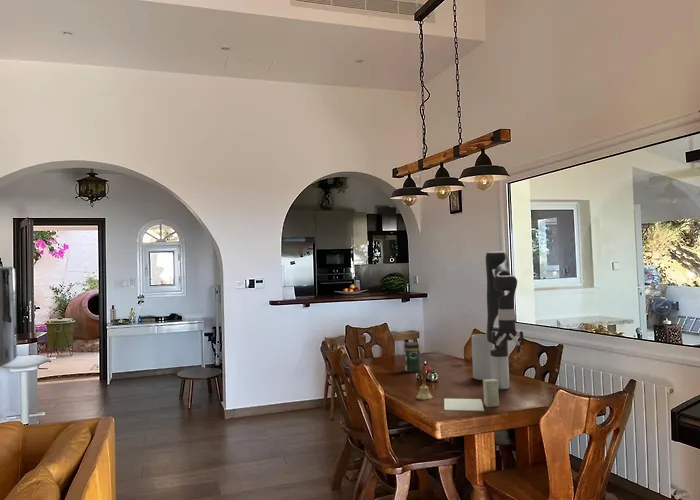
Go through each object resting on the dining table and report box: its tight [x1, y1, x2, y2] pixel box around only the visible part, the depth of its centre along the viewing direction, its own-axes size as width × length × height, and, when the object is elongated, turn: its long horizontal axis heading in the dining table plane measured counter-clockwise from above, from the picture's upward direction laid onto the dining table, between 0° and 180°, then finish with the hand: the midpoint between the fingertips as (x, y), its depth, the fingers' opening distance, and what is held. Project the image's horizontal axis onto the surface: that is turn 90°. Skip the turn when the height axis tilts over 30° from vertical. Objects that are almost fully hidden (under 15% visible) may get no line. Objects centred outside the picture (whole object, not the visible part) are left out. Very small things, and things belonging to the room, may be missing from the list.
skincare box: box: [482, 379, 500, 408], centre depth 247 cm, size 6×4×12 cm
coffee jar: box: [403, 341, 421, 373], centre depth 332 cm, size 10×8×19 cm
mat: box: [443, 398, 485, 412], centre depth 249 cm, size 20×18×1 cm
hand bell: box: [415, 365, 433, 400], centre depth 265 cm, size 8×8×16 cm
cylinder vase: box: [471, 333, 495, 381], centre depth 306 cm, size 12×12×25 cm
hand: (507, 353), depth 242 cm, fingers open, 8 cm apart
